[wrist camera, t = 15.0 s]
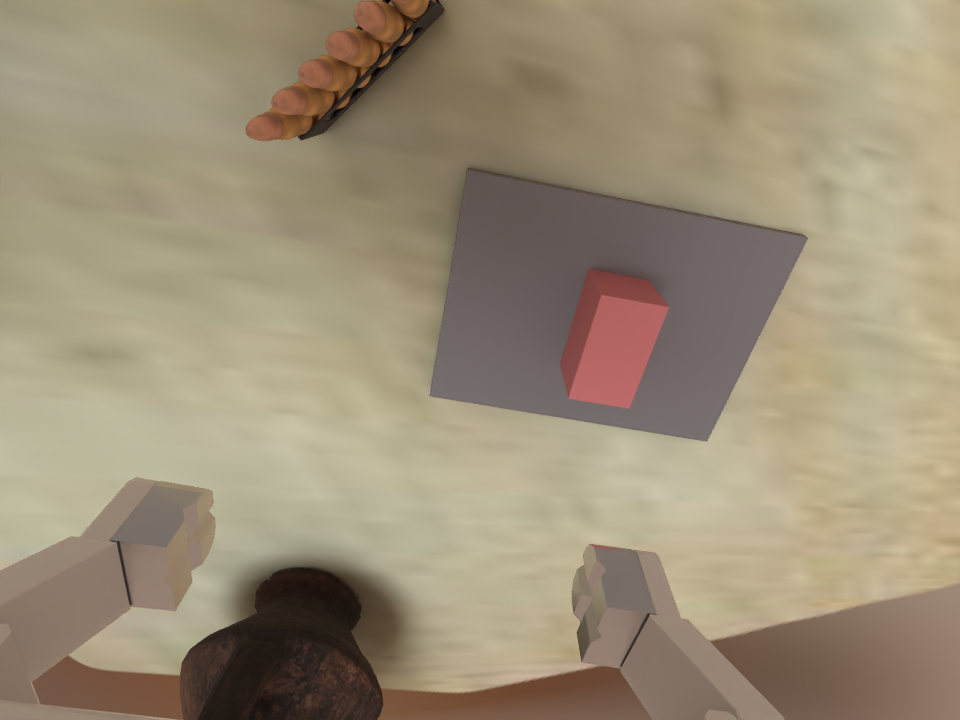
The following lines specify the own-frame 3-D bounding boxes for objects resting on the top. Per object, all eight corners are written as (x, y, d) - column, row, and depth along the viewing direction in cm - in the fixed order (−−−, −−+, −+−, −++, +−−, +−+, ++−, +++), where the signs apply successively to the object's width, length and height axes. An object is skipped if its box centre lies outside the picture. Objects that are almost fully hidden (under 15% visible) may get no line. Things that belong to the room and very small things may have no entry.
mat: (430, 390, 44) (429, 396, 43) (467, 168, 36) (467, 170, 35) (703, 435, 46) (706, 441, 45) (802, 234, 37) (808, 237, 37)
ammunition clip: (424, -20, 31) (391, -64, 20) (445, 10, 31) (424, -18, 21) (301, 109, 34) (217, 129, 24) (322, 134, 35) (251, 163, 24)
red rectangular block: (588, 268, 38) (601, 294, 34) (648, 279, 38) (669, 307, 34) (559, 363, 42) (568, 398, 37) (614, 373, 42) (629, 408, 38)
